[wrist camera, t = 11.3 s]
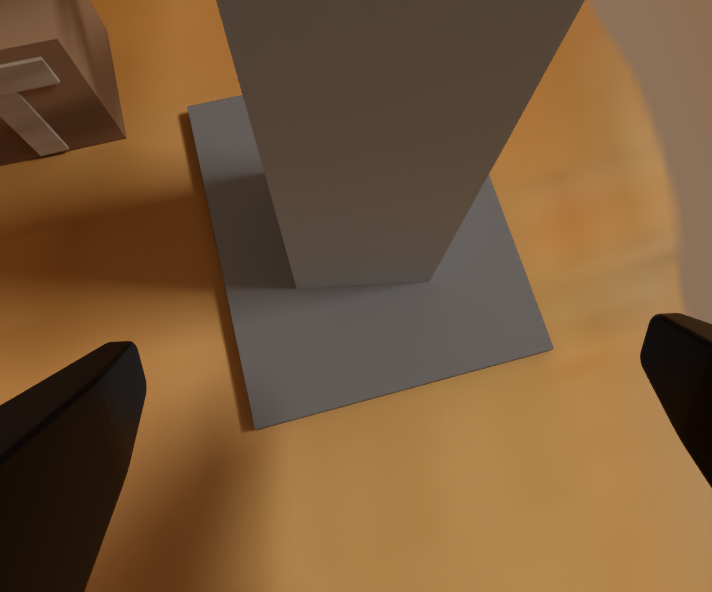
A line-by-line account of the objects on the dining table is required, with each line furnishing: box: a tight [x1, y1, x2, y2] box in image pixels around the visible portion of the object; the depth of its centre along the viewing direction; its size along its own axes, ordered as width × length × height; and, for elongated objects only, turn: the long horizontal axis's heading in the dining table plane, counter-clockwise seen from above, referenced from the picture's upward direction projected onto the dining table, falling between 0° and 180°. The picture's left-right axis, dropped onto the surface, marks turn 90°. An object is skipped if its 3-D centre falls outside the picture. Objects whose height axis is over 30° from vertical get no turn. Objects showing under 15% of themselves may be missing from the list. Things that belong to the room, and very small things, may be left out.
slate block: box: [216, 0, 585, 289], centre depth 12 cm, size 4×4×12 cm
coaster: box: [187, 95, 554, 430], centre depth 18 cm, size 12×10×1 cm
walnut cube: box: [0, 0, 126, 166], centre depth 17 cm, size 5×5×5 cm
